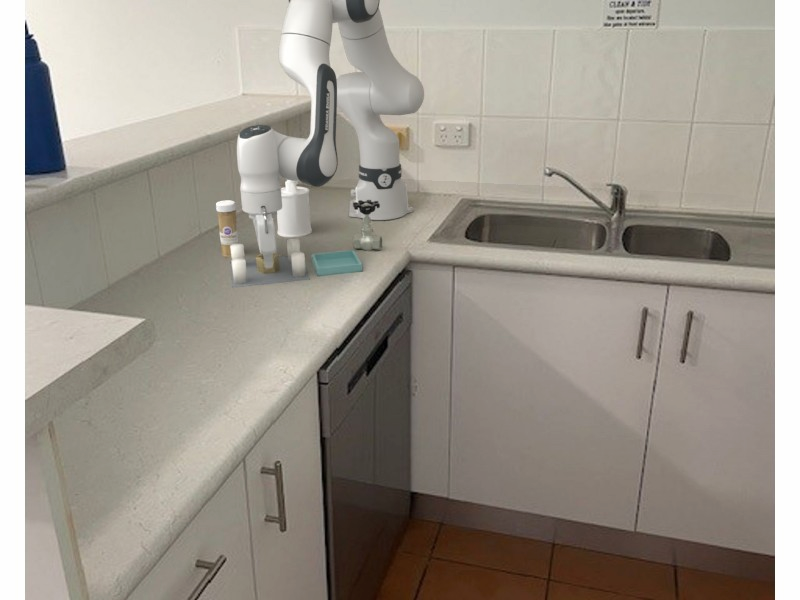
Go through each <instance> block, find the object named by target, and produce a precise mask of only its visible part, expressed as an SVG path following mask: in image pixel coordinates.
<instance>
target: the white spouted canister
mask: <svg viewBox="0 0 800 600" xmlns="http://www.w3.org/2000/svg"><path fill="white" fill-rule="evenodd" d="M284 183H285V186H284V187H281V196H282V209H281V210H279V211H277V216H276V220H277V221H276V222H277V232H276V233H277V235H278V236H279V237H283V238H284V237H285V238H299V237H300V238H301V237H304V236H305V237H306V236H308V235H310V234H312V233H313V228H312V226H311V225H312V223H311V213H310V212H311V210H310V195H309V194H310V189H309V188H308V187H305V186H297V185H298V184H299V182H297V181H290V180H285V182H284Z"/></svg>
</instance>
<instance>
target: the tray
mask: <svg viewBox="0 0 800 600" xmlns="http://www.w3.org/2000/svg"><path fill="white" fill-rule="evenodd" d="M359 258H360V257H359V256H358V255H357V253H356V251H355V249H352V250H351V249H349V250H339V251H330V252H319V253H318V252H317V253H311V263H312V266H313V268H314V270H315V273H316V275H317V277H325V276H335V275H344V274H352V273H353V274H354V273H361V272H363V264H362V263H363V262H361V260H360V259H359Z"/></svg>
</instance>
